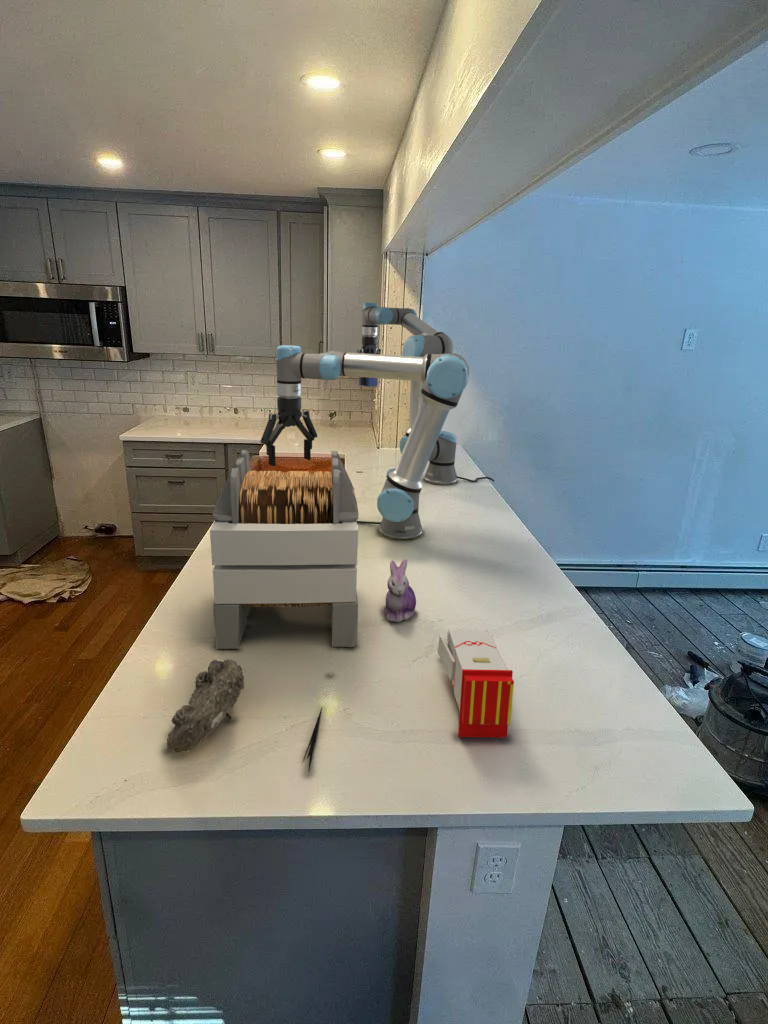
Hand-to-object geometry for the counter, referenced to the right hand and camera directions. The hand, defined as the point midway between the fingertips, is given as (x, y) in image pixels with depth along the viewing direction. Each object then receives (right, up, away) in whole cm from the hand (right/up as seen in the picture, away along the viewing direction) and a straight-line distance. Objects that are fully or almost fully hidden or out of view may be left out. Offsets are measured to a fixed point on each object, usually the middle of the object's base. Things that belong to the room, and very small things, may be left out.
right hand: (368, 384), depth 284 cm
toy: (+26, -102, -166) cm, 196 cm away
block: (0, 0, 0) cm, 1 cm away
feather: (-5, -104, -176) cm, 204 cm away
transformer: (-16, -90, -139) cm, 166 cm away
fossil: (-25, -103, -176) cm, 206 cm away
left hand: (-23, -48, -99) cm, 112 cm away
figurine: (+12, -91, -137) cm, 165 cm away
